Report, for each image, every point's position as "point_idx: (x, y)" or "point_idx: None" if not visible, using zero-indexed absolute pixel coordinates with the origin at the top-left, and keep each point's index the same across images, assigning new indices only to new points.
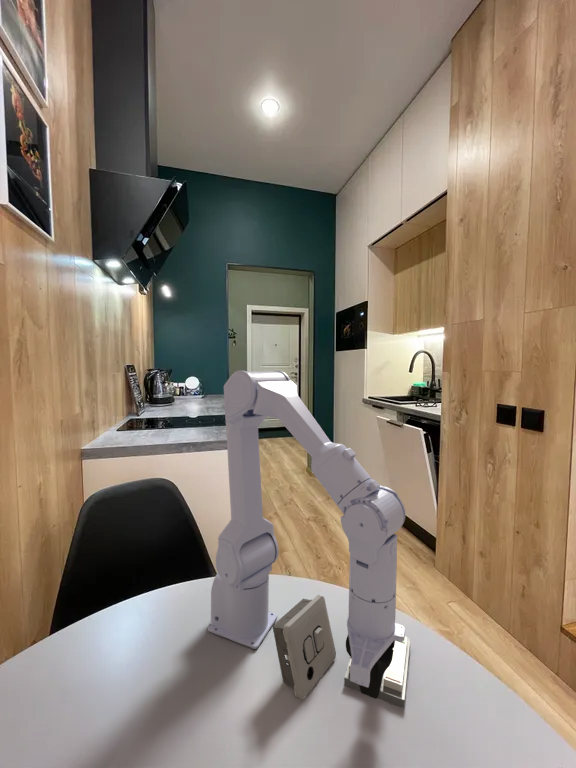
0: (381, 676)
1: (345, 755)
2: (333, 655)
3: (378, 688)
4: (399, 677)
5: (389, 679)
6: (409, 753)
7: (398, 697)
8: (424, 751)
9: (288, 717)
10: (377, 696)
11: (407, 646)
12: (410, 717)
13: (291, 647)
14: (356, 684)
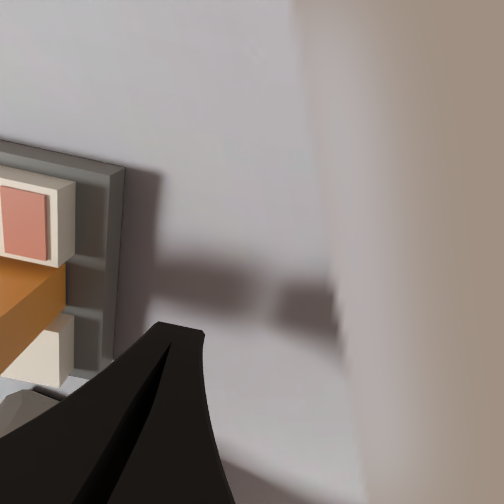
0: (214, 448)
1: (329, 357)
2: (23, 406)
3: (201, 369)
4: (21, 198)
5: (52, 244)
6: (290, 170)
7: (107, 199)
8: (272, 111)
9: (257, 478)
10: (201, 337)
11: None
12: (152, 145)
13: None
14: (105, 339)
